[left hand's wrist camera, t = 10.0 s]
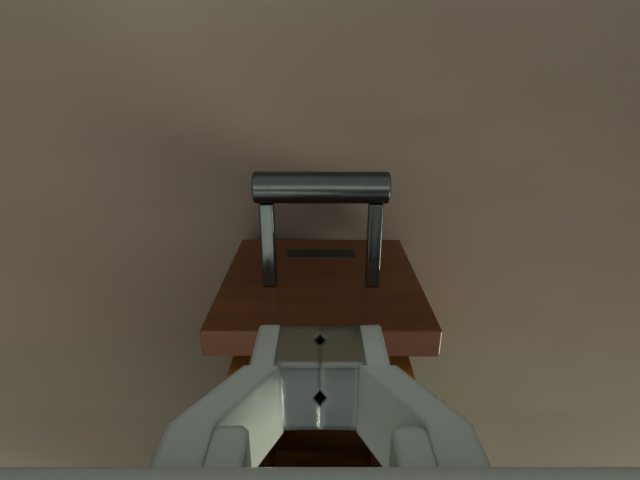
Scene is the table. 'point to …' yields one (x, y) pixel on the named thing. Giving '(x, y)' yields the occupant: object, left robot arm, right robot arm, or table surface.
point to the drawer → (321, 296)
